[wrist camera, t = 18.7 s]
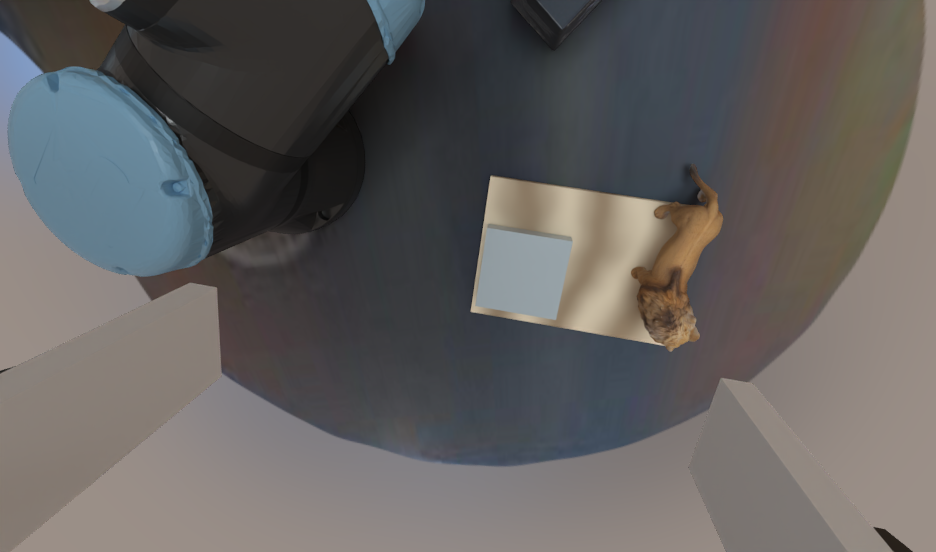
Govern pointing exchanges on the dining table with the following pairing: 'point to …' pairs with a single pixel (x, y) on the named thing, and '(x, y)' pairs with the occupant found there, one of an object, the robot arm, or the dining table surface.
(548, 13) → the box
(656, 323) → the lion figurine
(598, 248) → the board
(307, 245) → the dining table surface
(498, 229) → the block
